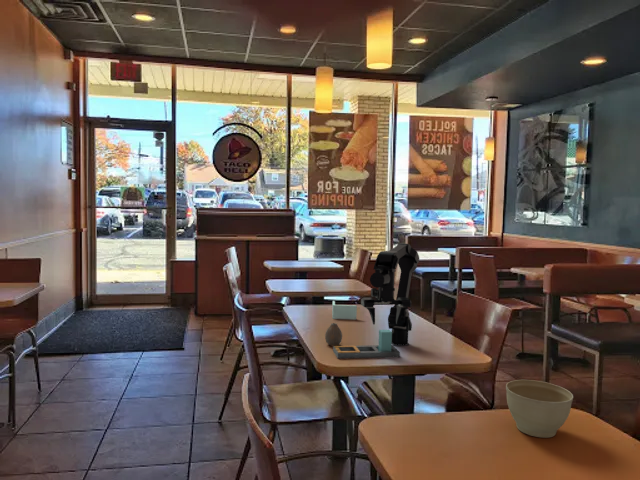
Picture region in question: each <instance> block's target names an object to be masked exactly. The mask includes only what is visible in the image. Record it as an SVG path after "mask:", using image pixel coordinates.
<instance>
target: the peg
mask: <svg viewBox="0 0 640 480" xmlns="http://www.w3.org/2000/svg"><path fill="white" fill-rule="evenodd" d="M377 345H378V350H379V351H391V345H393V344H392V330H391V329H379V330H378V344H377Z"/></svg>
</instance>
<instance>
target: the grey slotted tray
mask: <svg viewBox="0 0 640 480" xmlns="http://www.w3.org/2000/svg"><path fill="white" fill-rule="evenodd" d="M378 345H379V344H377V345H376V344H375V345H374V344H373V345H372V344H371V345H369V344H367V345H338V346H332V351H333V354H334V355H335V356H336V358H337V359H339V360H340V359H376V358H377V359H381V358H382V359H383V358H389V359H390V358H400V357H401V356H400V355H401V351H399V350H398V349H397V348H396V347H395V345H393V344H391V351H379V350H378Z"/></svg>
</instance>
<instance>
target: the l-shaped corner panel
mask: <svg viewBox="0 0 640 480" xmlns="http://www.w3.org/2000/svg"><path fill="white" fill-rule="evenodd" d="M357 307H358V306H357V305H353V304H352V305H351V304H349V305H347V304H336V301H335V300H332V307H331V308H332V311H331V314H332V317H331V318H332V319H333V320H357V314H358V312H357V311H358V308H357Z"/></svg>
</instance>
